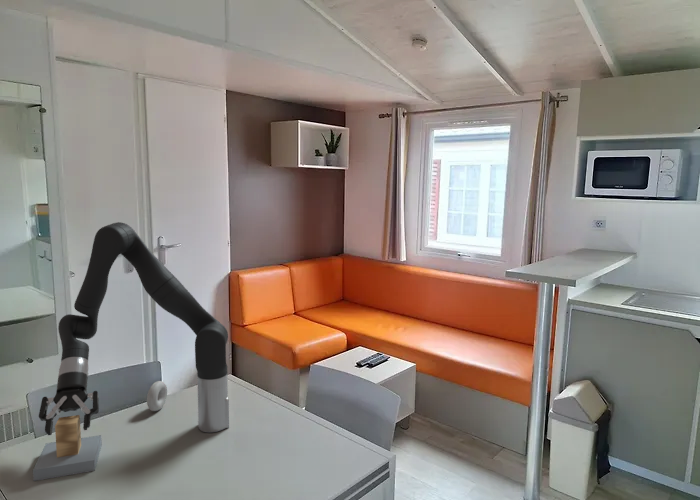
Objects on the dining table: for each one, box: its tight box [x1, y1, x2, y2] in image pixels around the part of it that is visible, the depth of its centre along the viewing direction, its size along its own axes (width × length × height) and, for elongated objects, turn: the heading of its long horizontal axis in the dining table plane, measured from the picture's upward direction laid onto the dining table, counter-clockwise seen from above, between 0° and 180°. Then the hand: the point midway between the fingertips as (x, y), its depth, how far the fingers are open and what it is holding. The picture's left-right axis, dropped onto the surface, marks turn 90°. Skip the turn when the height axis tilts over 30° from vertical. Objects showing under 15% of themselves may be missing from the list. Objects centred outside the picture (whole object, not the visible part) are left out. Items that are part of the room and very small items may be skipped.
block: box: [54, 414, 82, 458], centre depth 129 cm, size 5×5×9 cm
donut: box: [146, 380, 168, 412], centre depth 162 cm, size 10×4×10 cm, turn 173°
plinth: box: [32, 434, 103, 482], centre depth 130 cm, size 14×14×3 cm
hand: (67, 431), depth 128 cm, fingers open, 8 cm apart
